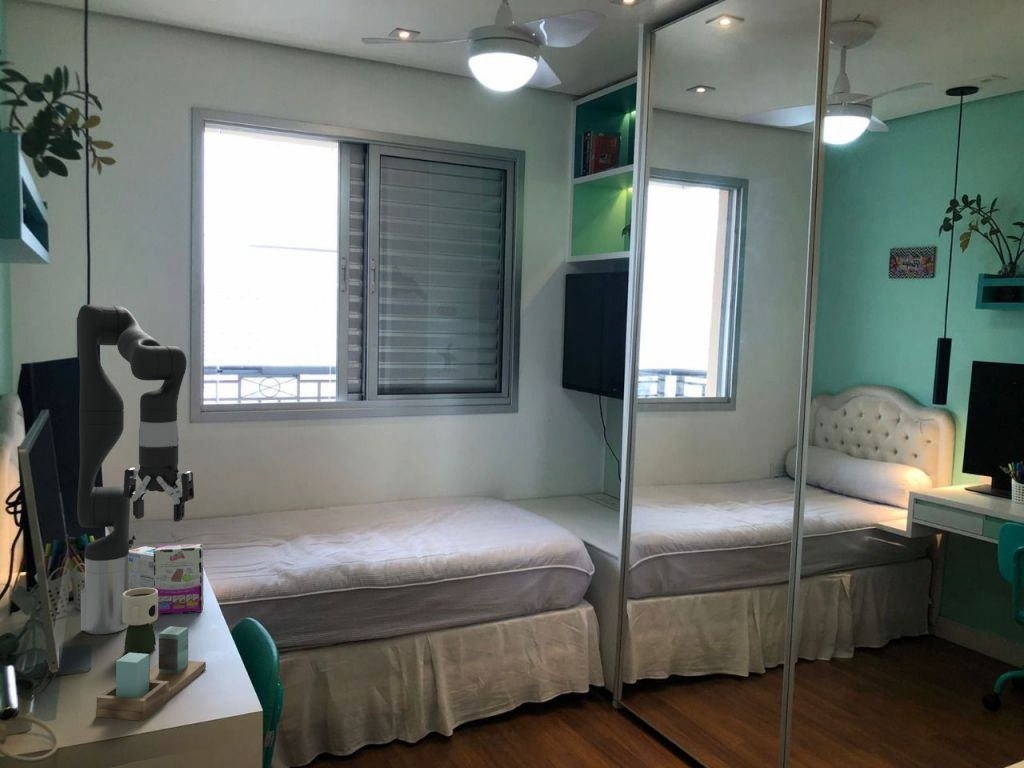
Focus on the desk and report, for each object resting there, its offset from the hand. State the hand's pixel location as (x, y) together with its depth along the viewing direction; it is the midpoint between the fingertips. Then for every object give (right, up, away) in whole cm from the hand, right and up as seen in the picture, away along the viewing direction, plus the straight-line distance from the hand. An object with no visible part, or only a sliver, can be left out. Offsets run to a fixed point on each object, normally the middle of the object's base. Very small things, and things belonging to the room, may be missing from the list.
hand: (158, 519), depth 169 cm
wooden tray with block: (+4, -32, -11) cm, 34 cm away
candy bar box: (-10, -29, +34) cm, 45 cm away
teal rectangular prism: (+3, -30, -18) cm, 36 cm away
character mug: (-8, -30, +8) cm, 32 cm away
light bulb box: (-24, -27, +49) cm, 61 cm away
